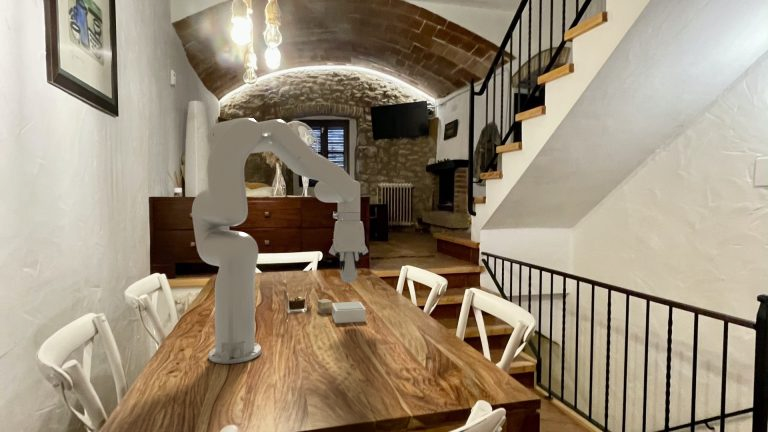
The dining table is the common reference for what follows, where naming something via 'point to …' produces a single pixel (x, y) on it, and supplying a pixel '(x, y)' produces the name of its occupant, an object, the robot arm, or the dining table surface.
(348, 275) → the salt shaker
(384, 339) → the dining table surface
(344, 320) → the base block
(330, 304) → the tan block
